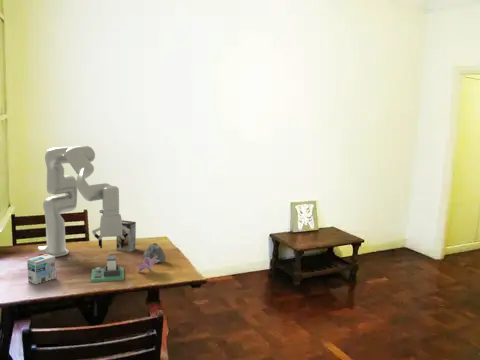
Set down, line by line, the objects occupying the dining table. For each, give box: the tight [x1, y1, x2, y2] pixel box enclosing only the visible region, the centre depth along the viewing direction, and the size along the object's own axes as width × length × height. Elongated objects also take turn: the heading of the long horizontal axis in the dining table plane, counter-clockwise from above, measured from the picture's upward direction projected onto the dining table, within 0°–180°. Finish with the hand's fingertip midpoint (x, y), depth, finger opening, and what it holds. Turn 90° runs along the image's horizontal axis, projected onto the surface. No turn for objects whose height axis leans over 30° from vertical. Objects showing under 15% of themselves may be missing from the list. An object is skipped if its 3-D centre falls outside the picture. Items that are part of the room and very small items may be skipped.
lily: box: [137, 256, 160, 276], centre depth 232 cm, size 12×12×10 cm
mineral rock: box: [143, 242, 166, 265], centre depth 251 cm, size 13×11×10 cm
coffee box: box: [115, 219, 137, 253], centre depth 267 cm, size 9×6×16 cm
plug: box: [106, 254, 117, 271], centre depth 228 cm, size 4×5×8 cm
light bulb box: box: [27, 253, 57, 285], centre depth 220 cm, size 11×7×11 cm, turn 148°
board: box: [90, 264, 125, 283], centre depth 228 cm, size 15×14×4 cm
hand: (111, 247), depth 226 cm, fingers open, 9 cm apart
